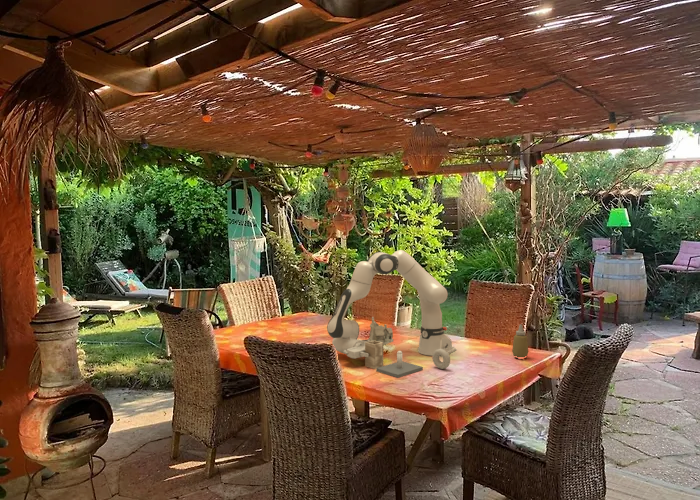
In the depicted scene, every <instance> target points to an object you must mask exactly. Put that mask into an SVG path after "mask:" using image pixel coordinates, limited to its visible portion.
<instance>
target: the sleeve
mask: <svg viewBox="0 0 700 500" xmlns="http://www.w3.org/2000/svg"><path fill="white" fill-rule="evenodd" d="M365 353H370V357H364V364H365V365H364V366H365V367H367V368H370V369H374V370H376V368H379V367H382V366H384V345H383V343H382V342H379V341H375V340H374V341H370V342H365Z"/></svg>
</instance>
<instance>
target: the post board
mask: <svg viewBox="0 0 700 500" xmlns="http://www.w3.org/2000/svg"><path fill="white" fill-rule="evenodd" d="M423 369H424V366H420V365H418V364H417V365H416V364H413V363H409V362H407V361H403V351H402V350H398V351H397V352H396V362H392V363H389V364H387V365H386V364H385V365H383V366H382V367H379V368H376V369H375V370H376V372H378V373H381V374H384V375H387V376H389V377H390V376H391V377H393V378H396V379H398V378H399V379H400V378H402V377H406V376H409V375H412V374H415V373H418V372H421V371H423Z"/></svg>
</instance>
